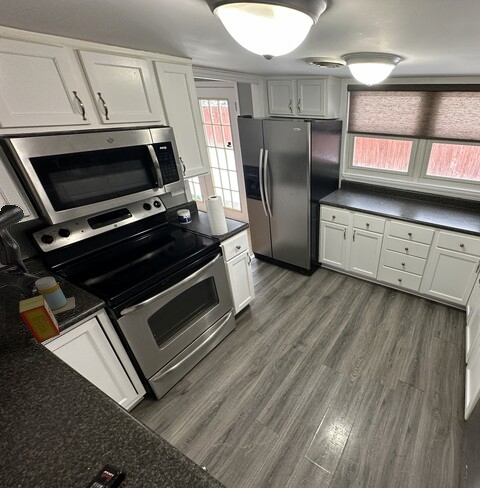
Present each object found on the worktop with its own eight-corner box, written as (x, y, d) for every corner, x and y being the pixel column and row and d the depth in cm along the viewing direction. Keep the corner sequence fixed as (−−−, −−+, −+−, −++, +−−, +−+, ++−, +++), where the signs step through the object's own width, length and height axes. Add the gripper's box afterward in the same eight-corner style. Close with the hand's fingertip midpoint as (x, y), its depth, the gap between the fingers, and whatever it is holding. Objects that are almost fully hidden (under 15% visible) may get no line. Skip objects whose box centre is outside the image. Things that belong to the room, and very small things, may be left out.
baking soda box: (60, 334, 110) (43, 304, 103) (38, 343, 106) (19, 312, 99) (58, 322, 116) (42, 293, 109) (37, 330, 112) (19, 300, 105)
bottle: (70, 304, 127) (58, 278, 120) (52, 313, 121) (38, 286, 114) (62, 300, 129) (50, 274, 123) (44, 308, 124) (30, 282, 117)
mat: (40, 319, 118) (39, 318, 118) (40, 307, 125) (40, 306, 125) (75, 307, 125) (75, 307, 125) (74, 297, 133) (74, 296, 132)
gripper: (7, 285, 118) (28, 294, 113) (47, 270, 130) (68, 277, 125) (15, 298, 121) (36, 308, 116) (53, 282, 134) (74, 290, 128)
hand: (52, 292), depth 121 cm, fingers closed on bottle, 7 cm apart
